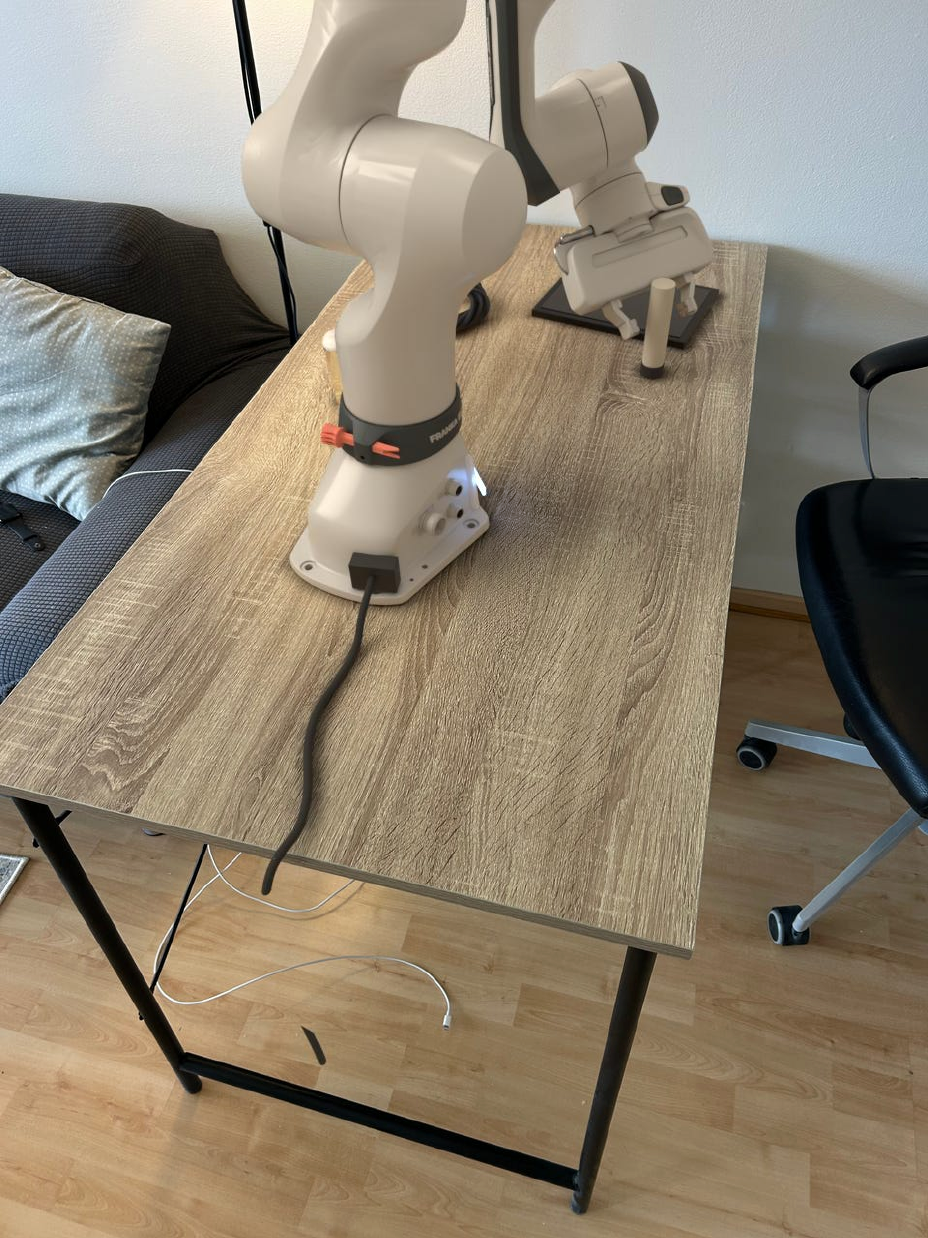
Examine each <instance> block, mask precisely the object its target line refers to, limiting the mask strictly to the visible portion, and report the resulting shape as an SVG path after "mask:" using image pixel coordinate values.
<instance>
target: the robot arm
mask: <svg viewBox="0 0 928 1238" xmlns="http://www.w3.org/2000/svg"><path fill="white" fill-rule="evenodd" d="M556 1H557V0H485V1H484V2H485V3H484V5H485V26H486V29H485V30H486V46H487V63H488V83H489V85H488V86H489V99H490V100H489V103H490V104H489V105H490V106H489V107H490V109H489V111H490V113H489V114H490V115H489V127H488V140H487V139H485V138H483V137H480V136H478V135H476V134H473V133H471V132H469V131H466V130H464V129H462V128H461V127H454V126H449V125H445V124H437V123H433V122H427V121H422V120H417V119H412V118H411V119H410V118H406V117H401V116H399V109H400V105H401V101H402V96H403V93H404V90H405V87H406V85H407V83H408V81H409V79H410V77H411V76H412V75H413V73H414V71H415V70H416V69H417V68H418V66H419V65H421V64H422V63H424V62H426V61H428V60H431V59H433V58H434V57H437V56H438V55H439V54H441V53H442V52H443V51H445V50H446V49H447V48H448V47H450V46H451V44H452V43H453V42H454V41H455V39H456V38H457V37H458V35H459V33H460V31H461V29H462V27H463V24H464V21H465V18H466V13H467V5H468V0H313V8H312V14H311V15H312V16H311V19H310V24H309V27H308V28H309V29H308V32H307V36H306V39H305V42H304V45H303V49H302V50H301V54H300V57H299V59H298V61H297V64H296V66H295V69H294V71H293V73H292V75H291V77H290V79H289V81H288V83H286V86H285V88H284V89H283V91H282V92H281V94H280V95H279V96H278V97H277V98H276V99H275V100H274V101H273V103H272V104H270V106H268V107H267V108H266V109H264V110H263V111H262V112H261V113H260V114H259V115H258V116H257V117H256V119H255V120H254V121H253V123H252V124H251V125H250V128H249V130H248V132H247V134H246V136H245V139H244V143H243V148H242V151H241V161H240V171H241V181H242V186H243V189H244V193H245V196H246V199H247V202H248V204H249V206H250V208H251V209H252V210H253V212H254V214H256V216H257V217H258V218H260V219H261V221H263V222H265V223H267V224H268V225H270V226H272V227H274V228H275V229H277V230H278V231H280V232H282V233H283V234H285V235H288V236H289V237H292V238H293V239H295V240H297V241H299V242H301V243H304V244H305V245H310V246H314V247H317V248H321V249H325V250H329V251H333V252H337V253H341V254H343V255H348V256H353V257H356V258H360V259H362V260H363V261H367V263H368V264H369V266H370V269H371V271H372V274H373V287H372V288H369V289H367V290H365V291H362V292H361V293H360V294H358V295H356V296H355V297H354V298H352V299H351V300H350V301H349V302H348V303H347V304H346V305H345V307H344V308H343V310H342V311H341V313H340V315H339V317H338V320H337V322H336V325H335V328H334V329H335V343H336V350H337V356H338V363H339V370H340V376H341V383H342V390H343V391H342V394H341V399H340V404H339V407H338V410H337V416H338V421H337V425H335V424H333V423H329V422H327V423H325V424H324V425H323V426H322V428H321V431H320V435H319V436H320V442H321V443H323V444H324V445H329V446H334V447H335V448H334V449H333V452H332V454H331V456H330V458H329V460H328V463H327V464H326V467H325V469H324V471H323V474H322V476H321V479H320V481H319V483H318V485H317V487H316V491H315V493H314V495H313V497H312V499H311V502H310V504H309V507H308V510H307V525H306V526H305V528H304V529H303V531H302V533H301V535H300V537H299V538H298V540H297V542H296V543H295V545H294V546H293V548H292V549H291V552H290V554H289V556H288V559H289V565H290V566H291V567H290V568H291V569H292V570H293V571H294V573H295V574H297V575H298V577H300V578H301V579H302V580H303V581H305V582H306V583H308V584H309V585H311V586H313V587H315V588H316V589H319V590H322V591H323V592H325V593H329V594H331V595H334V596H336V597H340V598H343V599H345V600H349V601H352V602H356V603H360V604H359V605H360V606H359V609H358V613H357V617H356V623H355V631H354V637H353V641H352V644H351V647H350V649H349V652H348V654H347V656H346V659H345V661H344V662H343V664H342V666H341V667H340V669H339V671H338V672H337V674H336V675H335V677H334V678H333V679H332V680H331V681H330V683H329V685H328V686H327V688H326V689H325V690H324V691H323V692H322V695H321V696H320V698H319V699H318V701H317V703H316V704H315V706H314V709H313V710H312V713H311V715H310V718H309V721H308V723H307V726H306V730H305V735H304V740H303V752H302V753H303V754H302V770H303V771H302V773H303V775H302V777H303V779H302V780H303V781H302V782H303V783H302V794H301V795H302V796H301V802H300V807H299V811H298V813H297V814H298V815H297V817H296V821H295V823H294V824H293V827H292V828H291V831H290V832H289V834H288V835H287V836H286V837H285V839H284V840H283V842H281V844H280V845H279V847H278V848H277V849H276V851H275V852H274V854H273V855H272V857H271V859H270V861H269V863H268V864H267V867H266V869H265V872H264V875H263V880H262V884H261V889H260V892H261V895H262V896H268V895H269V894H270V892H271V891H272V889H273V883H274V880H275V876H276V873H277V871H278V868H279V866H280V864H281V862H282V861H283V859H284V858H285V857H286V855H287V853H288V852H289V851H290V850H291V848H292V847H293V846H294V844H295V843H296V842H297V840H298V839H299V837H300V835H301V834H302V832H303V830H304V828H305V826H306V823H307V820H308V818H309V813H310V809H311V805H312V797H313V785H314V783H313V781H314V780H313V779H314V778H313V775H314V774H313V773H314V772H313V747H314V739H315V734H316V730H317V727H318V724H319V720H320V718H321V715H322V714H323V711H324V710H325V707H326V705H328V702H329V701H330V699H331V698H332V696H333V695H334V693H335V692H336V690H337V689H338V687H339V686H340V685H341V683H342V682H343V681H344V679H345V678H346V677H347V675H348V673H349V671H350V670H351V668H352V667H353V664H354V663H355V660H356V658H357V656H358V653H359V651H360V648H361V645H362V641H363V637H364V631H365V622H366V618H367V614H368V609H369V606H370V605H373V606H374V605H375V606H393V605H395V606H396V605H401V604H404V603H405V602H407V601H409V600H410V599H411V598H412V597H413V596H415V595H416V594H417V593H418V592H419V591H420V590H422V588H423V587H424V586H425V585H427V584H428V583H429V582H431V580H432V579H433V578H435V577H436V576H437V575H438V574H439V573H440V572H441V571H442V570H444V569H445V568H446V567H447V566H448V565H450V563H451V562H453V561H454V560H455V559H456V558H457V557H458V556H460V555H461V554H462V553H463V552H464V551H465V550H466V549H467V548H469V547H470V546H471V545H472V544H473V543H474V542H475V541H477V540H478V539H479V538H480V537H481V536H482V535H483V534H484V533H486V532H487V531H488V530H489V528H490V525H491V524H490V518H489V515H488V514H487V512H486V511H485V509H484V508H483V507H482V506H481V505H480V500H479V492H478V491H480V492H481V494H482V496H486V495H487V487H486V486H485V484H484V482H483V480H482V478H481V477H480V475H479V473H478V470H477V469H476V468H475V462H474V458H473V455H472V453H471V451H470V449H469V447H468V445H467V444H466V443H467V442H466V441H465V438H464V435H463V433H462V430H461V428H462V425H463V409H464V408H463V398H462V397H461V389H460V386H459V383H458V382H457V381H456V338H457V337H456V336H457V335H456V332H457V331H456V324H457V319H458V315H459V313H460V311H461V309H462V306H463V304H464V303H465V300H466V298H467V295H468V293H469V292H470V291H471V290H472V289H473V288H474V287H475V286H476V285H477V284H478V283H480V282H483V281H484V280H486V279H488V278H489V277H491V276H493V275H495V274H496V273H497V272H498V271H499V270H500V269H502V267H503V266H504V265H505V264H507V262H508V261H509V259H510V258H511V257H512V256H513V255H514V253H515V251H516V250H517V248H518V247H519V244H520V242H521V239H522V238H523V235H524V232H525V229H526V223H527V218H528V206H532V207H535V208H537V207H539V206H540V205H542V204H544V203H545V202H547V201H549V200H550V199H551V200H552V198H554V197H556V196H558V195H559V194H561V192H562V191H564V190H568V189H569V191H570V193H571V197H572V204H573V210H574V213H575V215H576V217H577V219H578V222H579V224H580V227H581V228H579V229H577V230H575V231H573V232H566V233H564V234H561V235H560V236H558V240H557V241H556V242H555V243H554V246H553V249H552V255H553V258H554V261H555V263H556V265H557V268H558V269H559V271H560V277H562V281H563V285H564V288H565V292H566V295H567V298H568V301H569V304H570V307H571V309H572V310H573V311H574V312H576V313H577V314H579V315H584V314H587V313H589V312H592V311H595V310H598V309H600V308H602V311H603V313H604V316H605V317H606V318H607V319H608V320H609V321H611V322H612V323H613V324H614V325H615V326H616V327H618V328H619V330H620V333H621V335H622V336H621V338H622V339H623V340H625V341H626V340H628V339H632V338H631V337H634V336H636V335H637V334H639V332H640V329H639V327H638V326H637V321H636V319H632V320H630V319H629V318H628V317H627V316H626V315H625V314H624V313H623V312H622V311H621V310H620V308H622V303H621V301H622V300H625V299H628V298H631V297H633V296H636V295H639V294H642V293H644V292H647V291H650V290H651V285H652V281H653V280H655V279H658V278H668V279H671V280H673V281H674V282H675V283H676V288H677V290H678V289H681V303H679V304H677V305H676V306H677V309H678V311H679V312H680V313H679V314H680V316H681V317H682V318H683V317H686V316H689V315H691V314H693V313H695V312H696V311H697V305H696V302H695V300H694V297H693V296H694V291H695V285H696V278H695V276H694V275H696V274H698V273H700V272H702V271H704V270H705V269H706V268H708V267H709V266H710V265H711V264H712V263H713V259H714V249H713V245H712V242H711V240H710V237H709V234H708V231H707V230H706V228H705V225H704V223H703V221H702V220H701V217H700V216H699V214H698V212H697V211H696V210H695V209H693V208H692V207H690V206H687V204H689V203H690V201H691V195H690V192H689V190H688V188H687V187H686V186H684V185H681V184H668V183H660V182H654V181H647V180H646V177H645V175H644V172H643V171H642V170H641V168H640V167H639V166H638V164H637V163H636V159H635V158H636V156H637V155H638V154H640V153H642V152H644V151H645V150H646V148H647V147H648V146H649V144H650V142H651V140H652V138H653V136H654V134H655V132H656V129H657V126H658V124H659V122H660V115H659V114H660V113H659V110H658V106H657V103H656V100H655V97H654V94H653V92H652V89H651V87H650V84H649V82H648V79H647V77H646V76H645V74H644V73H643V72H642V71H641V70H639V69H638V68H636V67H634V65H631V64H630V63H627V62H624V61H620V60H618V61H617V62H612V63H608V64H605V65H602V66H601V67H598V68H596V69H591V68H582V69H576V70H572V71H570V72H568V73H566V74H565V75H563V76H561V77H560V78H558V79H557V80H556V81H555V82H554V83H553V84H552V85H551V86H550V87H549V88H548V89H547V91H546V92H545V93H544V94H541V95H540V96H538V97H536V70H535V69H536V67H535V65H536V62H535V60H536V57H535V46H536V45H535V43H536V37H537V33H538V30H539V27H540V25H541V23H542V21H543V19H544V17H545V16H546V14H547V13H548V11H549V10H550V8H551V7H552V6H553V5H554V4H555V2H556ZM478 489H479V490H478ZM273 858H275V859H273ZM300 1028H301V1029H302V1032H303V1033H304V1035H305V1037H306V1039H307V1040H308V1042H309V1044H310V1047H311V1048H312V1050H313V1052H314V1055H315V1058H316V1059H317V1062H318V1064H319V1065H320V1066H324V1065H326V1063H327V1058H326V1057H325V1056H326V1055H325V1053H324V1051H323V1049H322V1046H321V1044H320V1042H319V1040H318V1038H317V1036H316V1033H315V1032H313V1031H311V1030H309V1029H308V1028H306V1027H305V1026H302V1025H300Z"/></svg>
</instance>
